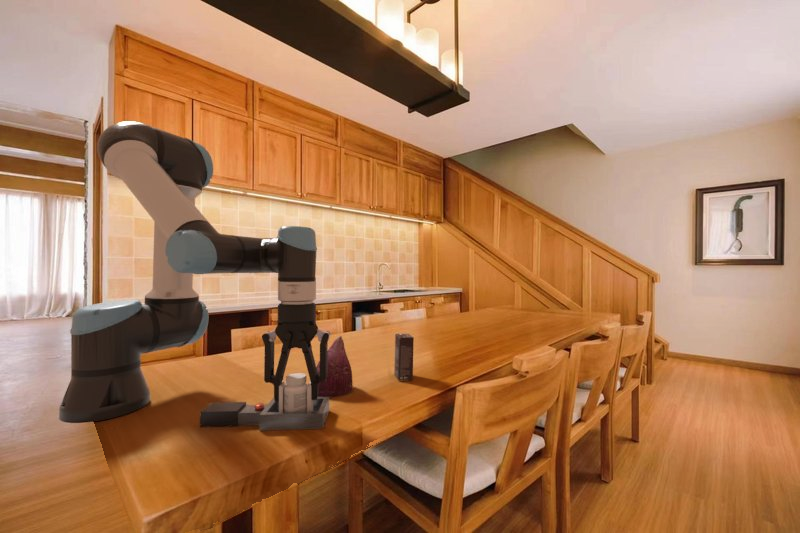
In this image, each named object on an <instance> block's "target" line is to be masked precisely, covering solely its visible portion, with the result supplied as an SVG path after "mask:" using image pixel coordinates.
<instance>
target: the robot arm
mask: <svg viewBox="0 0 800 533" xmlns="http://www.w3.org/2000/svg"><path fill="white" fill-rule="evenodd" d="M96 146H97V147H96V148H97V149H96V150H97V153H98V154H97V155H98V157H99V159H100V162H101V164H102V165H103V166H104V167H105V169H106V170H107V171H108V172H109V174H111V175H112V176H114V178H117V179H119V180H122V182H123V183H124V184H125V185H126V187H127V188H128V190H130V192H131V193H132V194H133V196H134V197H135V199H136V200H137V201H138V202H139V204H140V205H141V206H142V207H143V209H144V210H145V211H146V213H148V215H149V216H150V218H151V219H152V220H153V221H154V224H153V225H154V226H153V258H152V259H153V260H152V261H153V262H152V289H151V290H150V291H148V292H147V293H146V294H145V295H144V303H143V304H142V302H141V300H139V299H121V300H112V301H111V300H110V301H104V302H100V303H93V304H90V305H87V306H83V307H81V308H78V309H77V310H76V311H74V313H73V314H72V319H71V329H70V330H69V331H70V333H69V334H70V336H71V338H70V339H71V345H70V348H71V351H70V355H71V356H70V358H71V361H70V363H71V366H70V368H71V371H70V372H71V373H70V375H71V376H70V382H69V383H68V386H67V388H66V391H65V393H64V396H63V398H62V402H61V403H60V405H59V406H58V407H59V408H58V419H59V421H61V422H63V423H66V424H81V423H82V424H84V423H92V422H98V421H104V420H110V419H113V418H117V417H121V416H124V415H127V414H130V413H132V412H135V411H137V410H140V409H141V408H143V407H145V406H147V405H148V404H149V402H150V400H151V391H150V388H149V387H148V383H147V381H146V378H145V375H144V373H143V371H142V368H141V367H142V366H141V364H142V363H141V361H142V360H141V358H142V355H143V354H148V353H153V352H158V351H159V352H160V351H163V350H168V349H173V348H181V347H184V346H186V345H191V344H193V343H196V342H197V341H199V340H200V339H201V338H203V336H204V334H205V333H206V331H207V329H208V325H209V318H210V317H209V316H210V315H209V310H208V309H207V306H206V304H205V303H204V302H203V301H201V300H200V295H199V294H198V292H196V291H195V289H193V280H194V278H193V276H194V275H207V274H209V275H213V274H271V273H272V274H277V300H278V301H279V302H280V303H278V305H277V325H276V327H275V329H274V330H272V331H267V332H265V333H263V334H262V335H261V339H262V342H263V345H264V364H263V365H264V367H263V368H264V371H263V372H264V374H263V375H264V376H263V380H264V382H265V383H267V384H268V383H270V384H272V385H273V398H274V400H275V401H279V412H284V388H285V386H286V385H287V384H286V381H283V380H284V376H285V372H286V369H287V368H286V367H287V364H288V362H289V357H290V353H291V350H292V349H295V348H296V349H301V352H302V353H303V357H304V360H305V365H306V369H307V373H308V376H309V380H310V381H308V382H309V383H307V412H309V411H313V400H316V399H317V397H319V396H318V386H319V383H320V382H324V381H325V380H326V378H327V376H328V350H329V348H328V347H329V346H328V344H329V343H328V342H329V340H330V337H331V332H330V331H329V330H328V331H323V330H321V329H319V328H318V325H317V321H316V320H317V318H316V317H317V314H316V312H317V310H316V309H317V308H316V307H317V305H316V303H315V302H314V301H315V300H316V299H317V281H316V280H317V277H316V271H317V270H316V268H317V250H318V248H317V239H316V238H317V237H316V232H315V230H314V229H313V228H312V227H307V226H301V225H300V226H297V225H284V226H280V227H279V229H278V232H277V237H269V238H268V237H254V236H253V237H251V236H241V235H234V234H233V235H232V234H223V233H220V232H218V230H216V228H215V227H214V226H213V225H212V224H211V223H210V222H209V220H208V219H207V218H206V217H205V216H204V215H203V214H202V212H201V211H200V210H199V209H198V208H197V206H196V198H198V196H200V195H201V194H202V193H203V189H204V188H206V187H207V186H208V185H209V184H210V183H211V179H212V178H213V176H214V163H213V162H214V161H213V159H212V156H211V154H210V152H209V151H208V150H207V149H206V148H205V146H203V145H202V144H200V143H198V142H195V141H194V140H191V138H187V137H182V136H180V135H177V134H174V133H171V132H167V131H165V130H162V129H159V128H157V127H153V126H151V125H148V124H145V123H142V122H137V121H121V122H117V123H114V124H112V125H109V126H108V127H107V128H105V129H104V130H103V131H101V133H100V135H99V138H98V140H97V144H96ZM316 336H317V341H318V342H320V343H319V361H320V375H318V372H317V368H316V367H317V365H316V360H315V357H314V353H313V350H312V349H313V348H312V347H313V346H312V343H311V342H312V341H313V340H314V338H315V337H316ZM277 337H278V339H279V340H280V341H281V343H282V345H281V350H280V356H279V360H278V364H277V367H276V371H275V341H276V339H277Z"/></svg>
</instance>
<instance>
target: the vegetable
mask: <svg viewBox="0 0 800 533" xmlns="http://www.w3.org/2000/svg"><path fill="white" fill-rule="evenodd" d="M316 368H317V372H318V375H320V360H319V361H318V363H317V365H316ZM352 372H353V371H352V366H351V363H350V360H349V358H348V355H347V352H346V349H345V342H344V340H343V337H342V335H339V337H337V338H336V339H334V340H333V343H332V344H331V345H330V346H329V348H328V376H327V378H326V380H325V381H324V382H320V383H319V386H318V397H329V398H335V397H341V396H346V395H349V394H351V393H352V392H353V386H354V385H353V373H352Z"/></svg>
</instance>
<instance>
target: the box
mask: <svg viewBox="0 0 800 533" xmlns="http://www.w3.org/2000/svg"><path fill="white" fill-rule="evenodd" d="M394 337H395V339H394V373H393V375H394V376H395V377H396V379H397V381H399V382H405V381H413V380H414V376H413V375H414V336H412V335H411V334H409V333H395V336H394Z"/></svg>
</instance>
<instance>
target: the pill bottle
mask: <svg viewBox="0 0 800 533" xmlns="http://www.w3.org/2000/svg"><path fill="white" fill-rule="evenodd" d="M285 382H286V386H285V388H284V412H307V385H308V383H307V374H305V373H303V372H296V373H290V374H288V375H286V377H285Z"/></svg>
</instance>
